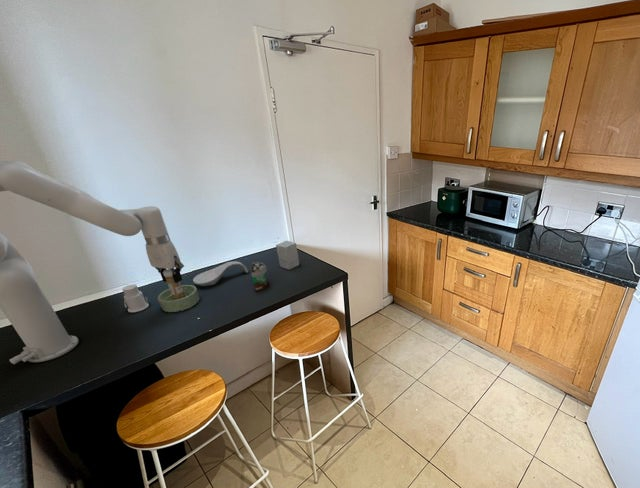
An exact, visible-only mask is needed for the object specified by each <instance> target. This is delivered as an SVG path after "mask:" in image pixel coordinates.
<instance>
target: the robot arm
mask: <svg viewBox="0 0 640 488" xmlns="http://www.w3.org/2000/svg"><path fill="white" fill-rule="evenodd" d="M0 192H10V193H13V194H15V195H18V196H21V197H24V198H26V199H28V200H32V201H34V202H36V203H40V204H42V205H44V206H48V207H50V208H52V209H55V210H58V211H60V212H62V213H65V214H67V215H68V216H72V217H74V218H77V219H79V220H82V221H84V222H87V223H89V224H90V225H91V224H92V225H94V226H96V227H99V228H100V229H101V228H102V229H104V230H107V231H109V232H112V233H114V234H117V235H120V236H124V237H132V236H136V235H137V234H139V233H140V232H142V235H143V238H144V240H145V251H146V254H147V258H148V261H149V264H150V266H151V267H152V268H154V269H156V270H157V273H159V274H160V277H161V279H162V281H163V283H167V281H166V278H165V276H164V274H163V271H164V270H167V269H171V271H172V273H173V274H172V276H173V279H174V282H175V283H178V282H181V281H183V277H182V274H181V272H182V269H183V268H185V265H184V263H182V261H181V258H180V255H179V253H178V251H177V249H176V246H175V245H174V243H173V241H172V239H171V237H170V234H169V232H168V228H167V226H166V223H165V220H164V217H163V214H162V211H161V209H160V208H159V207H157V206H155V205H154V206H149V205H148V206H143V207H139V208H130V209H117V208H115V207H112V206H111V205H108V204H106V203H104V202H102V201H100V200H98V199H97V198H95V197H93V196H92V195H90V194H89V193H87V192H86V191H84V190H82V189H80V188H78V187H75V186H74V185H71V184H68V183H67V182H64V181H62V180H59V179H57V178H55V177H52V176H50V175H48V174H46V173H43V172H41V171H39V170H37V169H34V168H33V167H32V166H31V165H29V164H28V163H25V162H22V161H18V160H2V161H0ZM174 268H175V270H174ZM0 310H1V311H2V313H3V314H4V316H5V317H6V318H7V320H8V321H9V323H10V324H11V325H12V327H13V328H14V330H15V331H16V333H17V335H18V336H19V338H20V339H21V340H22V343H24V345H25V346H23V347H22V350H23V351H21V352H20V354H17V355H16V356H14V357H12V358H10V359H9V362H10V363H11V364H13V365H16V364H18V363H19V362H21V361H23V363H25V362H29V363H42V362H46V361H51V360H54V359H56V358H59V357H61V356H63V355H65V354H67V353H69V352H71V351H72V350H73V349H75V348H76V347H77V345H78V344H79V343H80V341H79V338H78V336H76V335H69V334H68V332H67V330H66V328H65V327H64V325H63V323H62V321H61V320H60V318H59V317H58V315H57V313H56V311H55V309H54V308H53V306H52V304H51V302H50V301H49V299H48V298H47V296H46V295H45V293H44V292H43V290H42V288H41V287H40V285H39V283H38V281H37V279H36V276H35V272H34V269H33V267H32V265H31V264H30V263H29V261H28V260H27V259H26V258H25V257H24V256H23V255H22V253H21V252H20V251H19V250H18V249H17V248H16V247H15V246H14V244H12V242H11V241H10V240H9V239H8V238H7V237H6V236H5V235H4V234H2V233H1V232H0Z"/></svg>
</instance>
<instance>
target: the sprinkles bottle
mask: <svg viewBox="0 0 640 488" xmlns="http://www.w3.org/2000/svg"><path fill="white" fill-rule="evenodd" d="M175 269H176V268H175V267H174V270H175ZM163 274H164V276H165V278H166V284H167V285H168V289H170V292H171V294H172V296H173V300H178V299H181V298H184V297H186V296H185V294H184V291H183V288H182V285H183V284H182V282H181V281H180V282H178V283H175V282H174V279H173V276H172V274H173V273H172V271H171V269H167V270H164V271H163Z"/></svg>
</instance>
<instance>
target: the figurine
mask: <svg viewBox="0 0 640 488" xmlns="http://www.w3.org/2000/svg"><path fill="white" fill-rule="evenodd" d="M251 266H252V268H251V273H250V274H251V278H252V281H253V285H254V290H255V292H259V291H262V290H264V289H265V288H267V287H268V279H267V271H268V268H267V266H266V265H265V264H264V263H263V262H260V261H259V262H258V261H256V262H253V261H252V262H251Z"/></svg>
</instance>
